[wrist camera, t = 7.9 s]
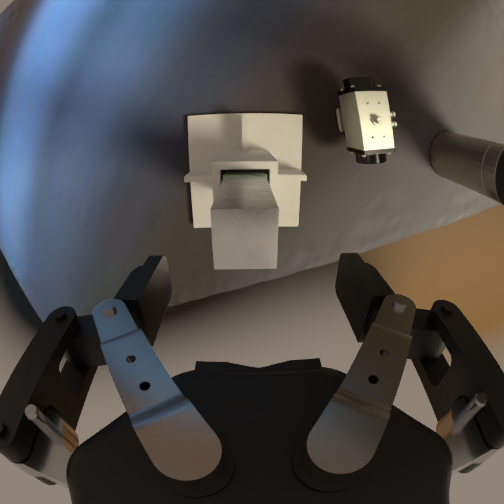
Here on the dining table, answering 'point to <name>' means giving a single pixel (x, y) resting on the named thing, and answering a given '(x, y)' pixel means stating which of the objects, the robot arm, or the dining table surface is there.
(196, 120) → the stand base
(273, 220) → the column
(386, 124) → the pneumatic valve
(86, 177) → the dining table surface
